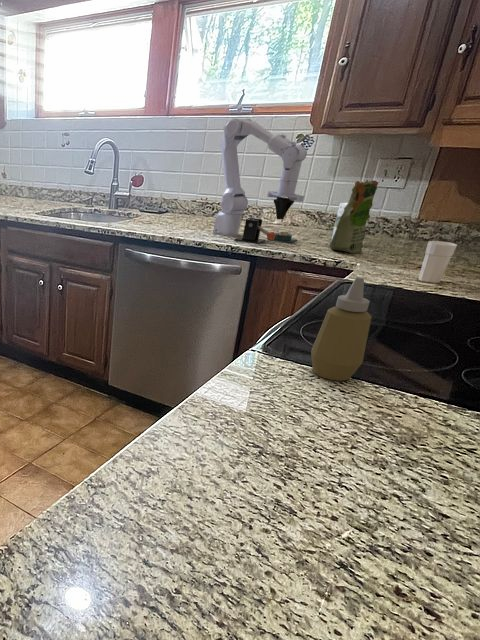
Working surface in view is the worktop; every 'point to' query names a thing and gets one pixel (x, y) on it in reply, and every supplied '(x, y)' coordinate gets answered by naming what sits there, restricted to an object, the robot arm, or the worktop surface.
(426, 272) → the cup
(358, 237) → the pouch
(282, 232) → the button
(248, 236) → the switch bracket
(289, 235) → the button block
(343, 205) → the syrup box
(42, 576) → the worktop surface
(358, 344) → the squeeze bottle
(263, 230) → the switch lever
